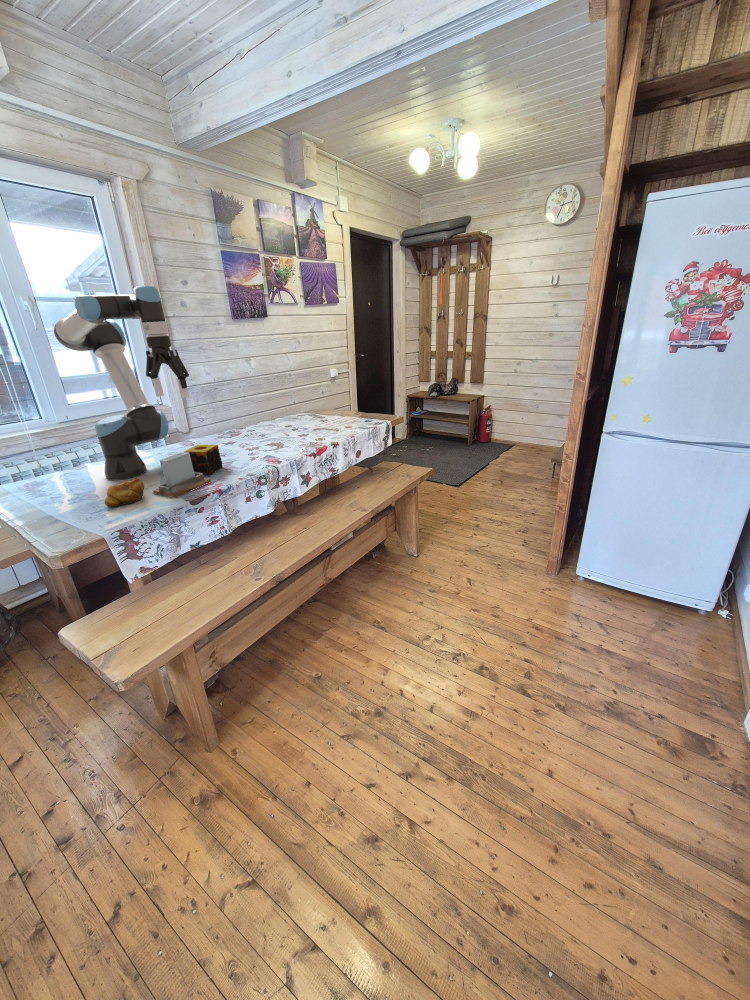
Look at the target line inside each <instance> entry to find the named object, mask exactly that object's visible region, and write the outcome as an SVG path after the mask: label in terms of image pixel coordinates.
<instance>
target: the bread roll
mask: <svg viewBox="0 0 750 1000" xmlns="http://www.w3.org/2000/svg"><path fill="white" fill-rule="evenodd" d="M144 490H145V485H144V482H143V481H142V479H140V478H135V479H131V480H129V481H123V482H121V483H119V484H115V485H111V486H109V487H108V489H107V491H106V495H107V496H106V497H105V499H104V501H103V503H104V505H105V506H106V507H109V508H115V507H120V506H124V504H126V505H128V504H132V503H133V504H134V503H136V502H138V501H140V500H142V498H143V497H144Z"/></svg>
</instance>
